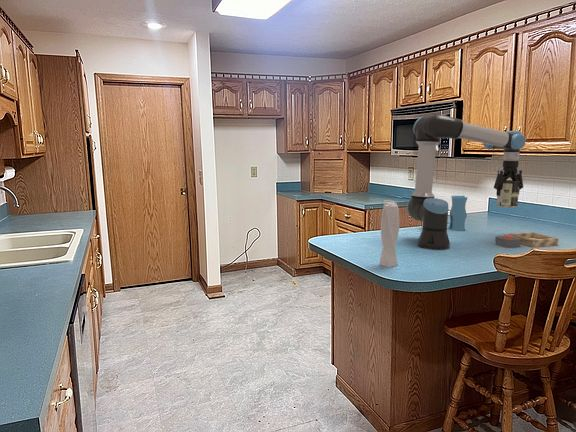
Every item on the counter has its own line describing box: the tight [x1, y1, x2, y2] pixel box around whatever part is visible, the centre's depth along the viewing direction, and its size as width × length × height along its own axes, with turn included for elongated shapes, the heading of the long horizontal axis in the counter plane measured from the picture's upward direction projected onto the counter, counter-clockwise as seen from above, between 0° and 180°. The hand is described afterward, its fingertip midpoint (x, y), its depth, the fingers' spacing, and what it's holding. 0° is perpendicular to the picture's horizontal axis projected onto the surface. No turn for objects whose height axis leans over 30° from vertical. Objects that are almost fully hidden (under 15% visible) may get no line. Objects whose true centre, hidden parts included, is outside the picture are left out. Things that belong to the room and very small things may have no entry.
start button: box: [502, 233, 513, 239], centre depth 215 cm, size 4×4×4 cm
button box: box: [494, 235, 522, 249], centre depth 216 cm, size 8×8×4 cm
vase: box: [448, 195, 469, 232], centre depth 255 cm, size 8×8×20 cm
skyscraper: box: [379, 199, 400, 268], centre depth 179 cm, size 8×8×28 cm
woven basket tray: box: [507, 231, 559, 248], centre depth 222 cm, size 16×16×4 cm
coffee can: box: [496, 179, 520, 209], centre depth 233 cm, size 10×10×14 cm
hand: (507, 201), depth 233 cm, fingers closed on coffee can, 10 cm apart
